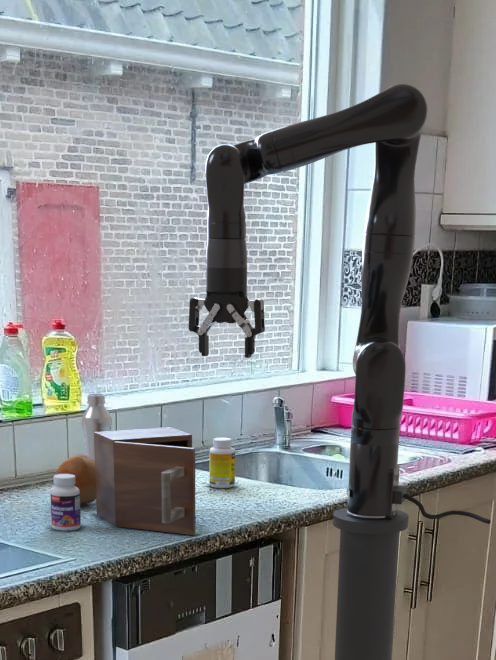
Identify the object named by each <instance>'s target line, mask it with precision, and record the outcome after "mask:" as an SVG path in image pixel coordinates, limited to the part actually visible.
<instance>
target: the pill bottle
mask: <svg viewBox="0 0 496 660" xmlns="http://www.w3.org/2000/svg"><path fill="white" fill-rule="evenodd" d="M52 478H53V485H54V486H53V487H51V489H50V490H49V491H50V515H51V517H50V519H51V528H52V529H54V530H56V531H62V532H63V531H64V532H65V531H66V532H67V531H77V530H78V529H80V528H81V526H82V525H81V524H82V522H81V519H82V518H81V516H82V515H81V506H80V491H79V489H78V488H77V487H75V486H74V484H75V475H72V474H57V475H55V474H54V475H53V477H52Z"/></svg>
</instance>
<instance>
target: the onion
mask: <svg viewBox="0 0 496 660" xmlns="http://www.w3.org/2000/svg"><path fill="white" fill-rule="evenodd" d="M57 474H72V475H75V484H74V486H75V487H77V488H78V489H79V491H80V507H82V506H86V505H89V504H91V503H93V502H94V501H96V481H95V461H94V460H92V459H91V458H89V457H87V456H85V454H83V453H81V454H79V453H78V454H73V455H72V456H70V457H68V458H66V459H65V460H64V461H63V462H61V464H60V465H59V467H58V468H57V470H56V471H55V473H54V475H57Z"/></svg>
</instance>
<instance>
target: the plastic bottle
mask: <svg viewBox="0 0 496 660" xmlns="http://www.w3.org/2000/svg"><path fill="white" fill-rule="evenodd" d="M86 399H87V401H86V404H87V405H88V406H87V408H86V409H85V411H84V413H83V415H82V417H81V426H82V433H83V439H84V451H85V454H84V455H85V456H87V457H89V458H91V459H92V460H94V461H95V451H94V432H103V431H112V427H113V419H112V415H111V414H110V413H109V411H108V409H107V407H105V405H106V397H105V394H104V393H100V392H99V393H96V392H95V393H93V392H92V393H87V397H86Z"/></svg>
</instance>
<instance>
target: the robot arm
mask: <svg viewBox="0 0 496 660" xmlns="http://www.w3.org/2000/svg"><path fill="white" fill-rule="evenodd" d="M427 119H428V103H427V100H426V98H425V96H424V94H423V92H421V90H420V89H418V88H417V87H416V86H414V85H412V84H409V83H405V82H404V83H403V82H402V83H401V82H400V83H395V84H392V85H390V86H388V87H387V88H386V89H384V90H383V91H381V92H378V93H377V94H375V95H373V96H370V98H367V99H365V100H363V101H361V102H359V103H356V104H353V105H352V106H349V107H347V108H344V109H341V110H338V111H335V112H332V113H329V114H326V115H321V116H319V117H315V118H311V119H307V120H303V121H300V122H296V123H293V124H292V123H291V124H289V125H285V126H283V127H280V128H279V127H278V128H276V129H272V130H269V131H267V132H264V133H262V134H261V135H258V136H257V137H256V138H252V139H249V140H246V141H243V142H238V143H236V144H235V143H234V144H219V145H217V146H215V147H214V148H212V149H211V151H210V152H209V153H208V155H207V157H206V161H205V187H206V188H205V189H206V199H207V220H206V221H207V241H206V250H205V253H206V254H205V287H206V288H205V291H206V295H205V297H204V298H199V297H191V298H189V307H188V331H189V332H192V333H195V334H197V337H198V352H199V354H201V357H209V354H210V346H209V345H210V343H209V342H210V340H209V339H210V337H209V335H208V332H209V331H210V330H211V329H212V327H213V326H214V325H215V324H216V323H217V324H224V323H227V324H237V325H238V327H239V328H240V329H241V330H242V332H243V333H244V335H245V336H244V358H245V359H250V358H252V357H253V356H252V355H254V354H255V352H256V351H255V349H256V348H255V347H256V336H257V335H259V334H263V333H264V332H265V331H266V324H265V323H266V322H265V302H264V299H262V298H259V299H255V300H254V299H253V300H252V299H249V298H248V294H247V293H248V247H247V239H246V238H247V215H246V208H245V204H244V203H245V201H244V200H245V196H244V195H245V185H247V184H250V183H252V182H255V181H257V180H260V179H262V178H265V177H267V176H272V175H278V174H281V173H285V172H289V171H293V170H295V169H299V168H301V167H304V166H308V165H311V164H314V163H316V162H318V161H321V160H323V159H326V158H327V157H331V156H333V155H335V154H337V153H341V152H343V151H346V150H349V149H353V148H356V147H359V146H364V145H369V144H374V168H373V169H374V170H373V177H372V184H371V188H370V193H369V198H368V203H367V208H366V214H365V221H364V229H363V241H362V253H361V280H360V281H361V285H360V286H361V308H360V309H361V310H360V319H359V324H358V331H357V336H356V341H355V347H354V351H353V355H352V368H353V373H354V375H355V378H354V379H355V382H354V398H353V399H354V400H353V407H352V411H351V424H350V425H351V428H350V445H349V447H350V448H349V450H350V451H349V468H348V469H349V470H348V486H347V487H346V493H345V494H346V496H347V503H346V504H347V505H346V506H347V507H348V509H347V515H348V516H351V517H354V518H358V519H366V520H383V519H387V520H391V519H392V518H393V517H394V516H395V515H396V514H397V510H398V505H403V503H404V502H405V501H406V500H407V501H409V502H411V503H413V504H414V505H416V506H417V507H418V509H419V511H420V514H421V515H422V516H423V517H424V518H426V519H427V520H428V519H429V520H437V519H438V520H439V519H442V518H445V517H448V516H453V515H454V516H456V515H457V516H464V517H469V518H472V519H474V520H477V521H478V522H481V523H484V524H487V525H490V524H491V519H489V518H486V517H483V516H481V515H479V514H476V513H473V512H470V511H465V510H448V511H444V512H441V513H438V514H431V513H428V512H426V510H425V508H424V504H423V503H421V501H419V500H418V499H416V498H414V497H413V496H411V495H409V494H408V486H405V485H399V484H400V483H399V482H400V469H401V468H400V465H399V464H398V461H399V447H400V446H399V445H400V430H401V427H400V426H401V419H402V414H403V410H404V399H405V386H406V385H405V384H406V373H407V365H406V358H405V354H404V352H403V351H402V349H401V348H400V318H401V317H400V316H401V309H402V305H403V300H404V297H405V294H406V290H407V286H408V282H409V278H410V275H411V271H412V270H411V269H412V266H413V265H412V264H413V258H414V250H415V241H416V240H415V239H416V225H417V224H416V223H417V222H416V218H417V217H416V216H417V214H416V213H417V212H416V209H417V208H416V187H415V185H416V184H415V182H416V181H415V178H416V175H415V174H416V165H417V160H418V153H419V148H420V141H421V138H422V133H423V129H424V128H425V124H426V122H427ZM203 307H205V309H206V311H207V312H208V314H207V315H206V317H205V318H204V320H203V321H202V323H201V325H200V311H201V310H203ZM248 308H250V311H251V312H252V313H253V317H254V319H253V320H254V327H253V326H252V324H251V322H250V319H249V318H248V316H247V314H245V313H246V311H247V310H248Z"/></svg>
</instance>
